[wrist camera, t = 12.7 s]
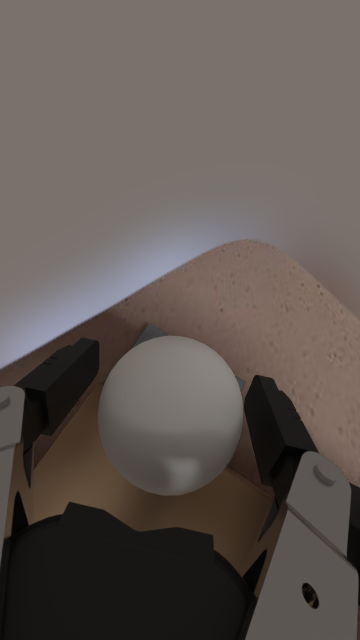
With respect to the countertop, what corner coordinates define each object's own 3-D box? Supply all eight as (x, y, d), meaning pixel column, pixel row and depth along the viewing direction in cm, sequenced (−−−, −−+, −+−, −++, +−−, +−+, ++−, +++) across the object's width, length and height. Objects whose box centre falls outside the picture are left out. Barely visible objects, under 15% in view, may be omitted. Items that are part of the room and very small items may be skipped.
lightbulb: (185, 457, 15) (226, 603, 5) (116, 416, 16) (19, 462, 5) (218, 382, 17) (298, 368, 7) (156, 348, 18) (141, 287, 7)
